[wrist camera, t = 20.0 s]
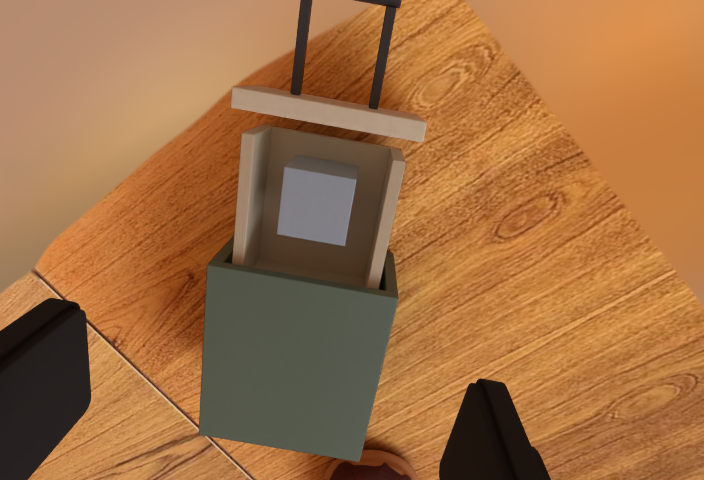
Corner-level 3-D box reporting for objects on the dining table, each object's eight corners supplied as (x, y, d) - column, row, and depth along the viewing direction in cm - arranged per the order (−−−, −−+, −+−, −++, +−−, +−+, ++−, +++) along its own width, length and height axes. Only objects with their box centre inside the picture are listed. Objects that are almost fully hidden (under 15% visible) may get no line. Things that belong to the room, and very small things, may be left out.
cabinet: (241, 226, 34) (206, 264, 27) (393, 253, 34) (398, 298, 27) (229, 371, 39) (198, 435, 32) (362, 393, 39) (359, 462, 32)
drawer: (267, -34, 27) (240, -63, 21) (443, -1, 27) (460, -22, 21) (243, 259, 34) (218, 292, 29) (380, 283, 34) (382, 321, 29)
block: (296, 154, 30) (284, 166, 26) (359, 165, 30) (356, 179, 26) (289, 213, 31) (276, 234, 27) (348, 224, 31) (344, 246, 27)
